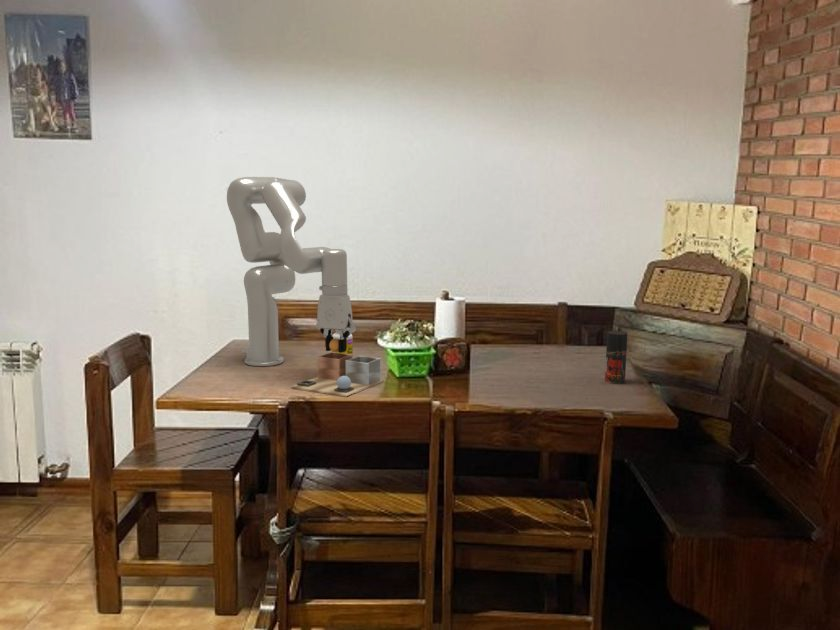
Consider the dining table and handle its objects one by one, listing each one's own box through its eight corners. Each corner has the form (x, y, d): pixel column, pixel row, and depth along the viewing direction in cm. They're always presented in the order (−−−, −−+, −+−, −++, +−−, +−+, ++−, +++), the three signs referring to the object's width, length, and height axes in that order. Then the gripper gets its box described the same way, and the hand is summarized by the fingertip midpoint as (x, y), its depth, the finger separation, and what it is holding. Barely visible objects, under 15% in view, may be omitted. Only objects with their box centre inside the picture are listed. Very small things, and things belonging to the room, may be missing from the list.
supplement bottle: (349, 367, 260) (349, 328, 258) (329, 366, 262) (329, 327, 259) (355, 362, 267) (355, 324, 265) (335, 361, 268) (335, 323, 266)
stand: (291, 388, 235) (290, 364, 234) (330, 373, 252) (330, 351, 251) (346, 397, 226) (346, 372, 225) (383, 381, 243) (383, 358, 242)
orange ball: (326, 352, 244) (326, 339, 243) (334, 349, 248) (333, 336, 247) (338, 353, 242) (337, 340, 242) (345, 351, 246) (345, 338, 245)
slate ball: (334, 390, 230) (334, 376, 229) (342, 387, 234) (341, 373, 233) (346, 392, 228) (346, 378, 228) (353, 388, 232) (353, 375, 231)
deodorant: (600, 379, 247) (603, 331, 245) (617, 378, 250) (619, 330, 247) (612, 384, 242) (614, 335, 239) (629, 382, 244) (631, 333, 242)
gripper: (304, 290, 243) (306, 350, 246) (351, 294, 235) (352, 356, 238) (318, 287, 249) (320, 346, 252) (365, 290, 241) (366, 351, 244)
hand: (336, 350), depth 245 cm, fingers closed on orange ball, 3 cm apart
